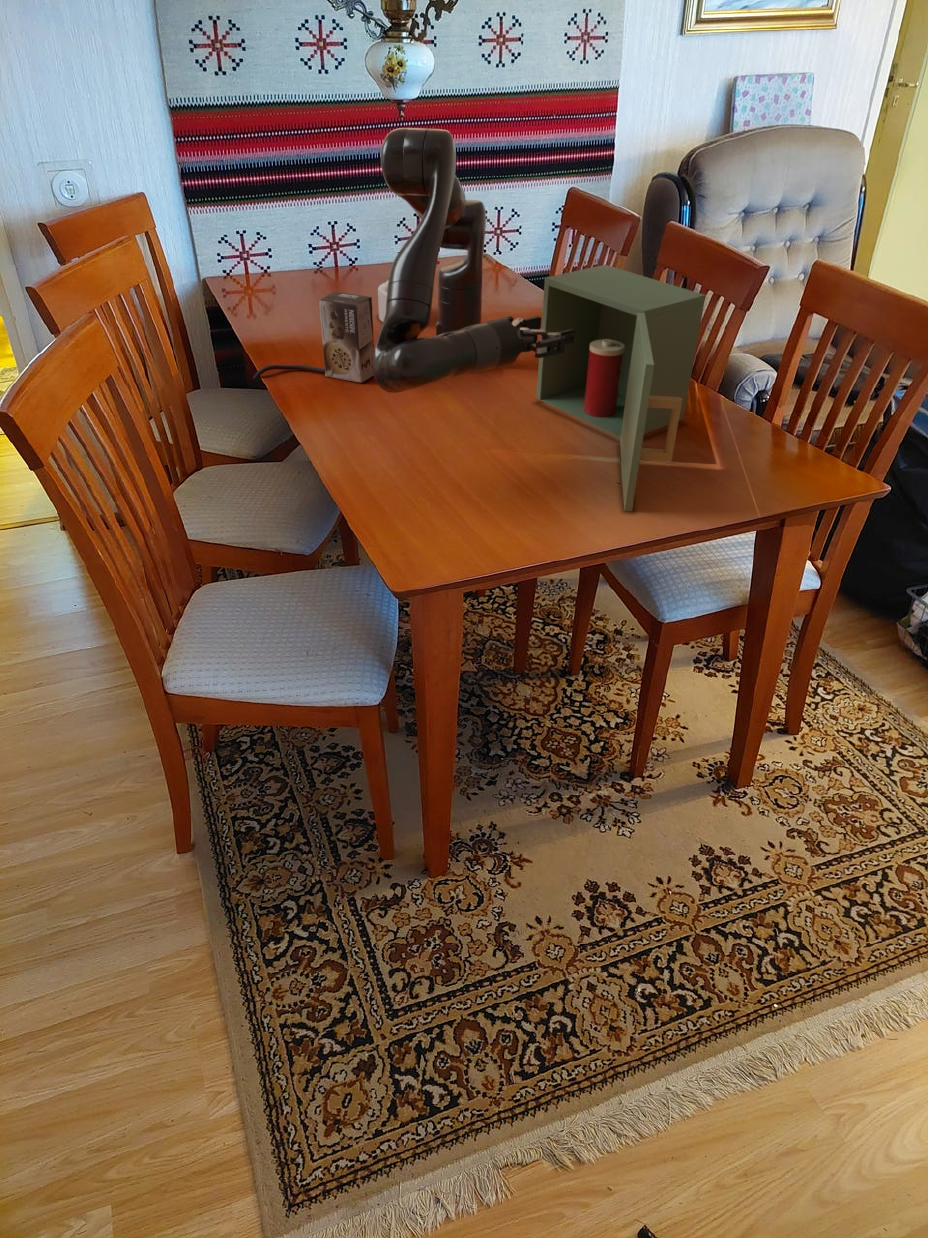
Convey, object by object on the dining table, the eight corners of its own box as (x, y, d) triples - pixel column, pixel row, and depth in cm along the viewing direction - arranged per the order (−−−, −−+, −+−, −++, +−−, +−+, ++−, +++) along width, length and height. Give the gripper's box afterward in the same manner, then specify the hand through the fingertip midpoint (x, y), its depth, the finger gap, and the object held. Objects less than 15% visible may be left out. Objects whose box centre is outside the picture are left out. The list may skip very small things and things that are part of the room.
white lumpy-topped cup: (389, 328, 212) (388, 291, 207) (371, 312, 222) (370, 276, 216) (429, 323, 216) (429, 286, 210) (410, 308, 225) (409, 272, 220)
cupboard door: (654, 448, 160) (676, 314, 146) (664, 513, 141) (690, 366, 126) (619, 446, 161) (637, 312, 147) (624, 511, 141) (645, 364, 127)
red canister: (582, 416, 169) (590, 345, 161) (582, 403, 174) (590, 333, 166) (616, 418, 168) (625, 347, 160) (615, 405, 173) (624, 335, 165)
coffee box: (376, 373, 188) (373, 296, 178) (361, 384, 183) (357, 304, 173) (339, 366, 191) (334, 290, 181) (323, 376, 186) (317, 298, 176)
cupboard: (625, 445, 161) (644, 310, 147) (535, 403, 176) (544, 277, 162) (682, 424, 170) (705, 294, 155) (591, 385, 185) (605, 264, 170)
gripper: (514, 335, 138) (587, 317, 146) (458, 312, 147) (530, 296, 155) (512, 381, 142) (583, 361, 151) (457, 356, 151) (527, 339, 160)
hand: (556, 328), depth 153 cm, fingers open, 8 cm apart
